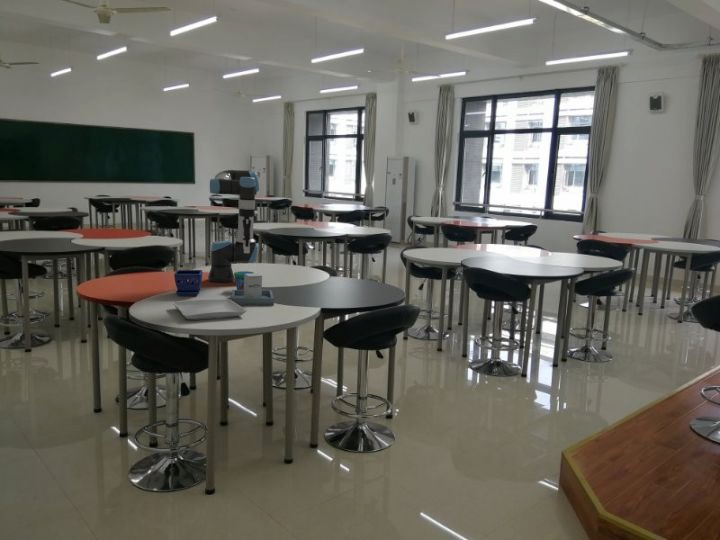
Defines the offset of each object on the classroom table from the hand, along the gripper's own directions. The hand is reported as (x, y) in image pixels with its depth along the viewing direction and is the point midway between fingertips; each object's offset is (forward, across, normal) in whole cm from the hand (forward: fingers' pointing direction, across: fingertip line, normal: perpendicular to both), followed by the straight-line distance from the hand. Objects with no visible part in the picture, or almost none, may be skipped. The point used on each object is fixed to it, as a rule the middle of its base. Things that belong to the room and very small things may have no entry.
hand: (246, 250), depth 275 cm
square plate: (+24, +30, -17) cm, 43 cm away
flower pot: (+25, -10, -28) cm, 39 cm away
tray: (+24, +6, +3) cm, 25 cm away
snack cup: (+25, -18, 0) cm, 31 cm away
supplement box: (+24, +6, +3) cm, 25 cm away
